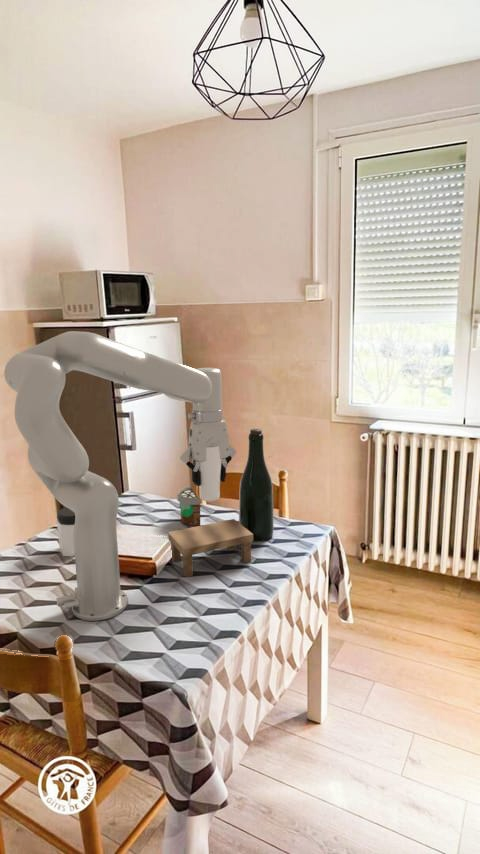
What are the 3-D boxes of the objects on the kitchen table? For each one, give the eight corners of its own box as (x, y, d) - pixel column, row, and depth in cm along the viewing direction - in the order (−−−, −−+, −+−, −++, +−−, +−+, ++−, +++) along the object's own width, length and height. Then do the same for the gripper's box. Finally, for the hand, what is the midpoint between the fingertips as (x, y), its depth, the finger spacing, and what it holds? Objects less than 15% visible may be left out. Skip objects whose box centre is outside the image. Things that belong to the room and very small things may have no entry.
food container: (174, 516, 175) (173, 487, 173) (192, 514, 177) (192, 486, 175) (182, 530, 164) (181, 500, 162) (201, 528, 165) (200, 498, 163)
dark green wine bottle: (232, 534, 161) (230, 429, 154) (257, 525, 168) (256, 424, 160) (255, 545, 153) (254, 435, 146) (280, 535, 160) (281, 429, 153)
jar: (57, 547, 153) (53, 508, 150) (85, 541, 157) (82, 503, 154) (64, 559, 145) (61, 519, 143) (93, 552, 149) (90, 513, 147)
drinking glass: (219, 503, 136) (217, 448, 133) (193, 502, 138) (192, 446, 134) (224, 495, 143) (224, 441, 140) (200, 493, 144) (199, 440, 141)
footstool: (184, 578, 135) (183, 549, 133) (169, 559, 145) (167, 532, 143) (253, 561, 143) (253, 534, 142) (234, 544, 154) (233, 518, 152)
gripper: (181, 422, 128) (183, 492, 132) (244, 415, 136) (244, 481, 140) (170, 417, 135) (173, 483, 139) (231, 410, 142) (232, 474, 146)
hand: (209, 481), depth 139 cm, fingers closed on drinking glass, 6 cm apart
